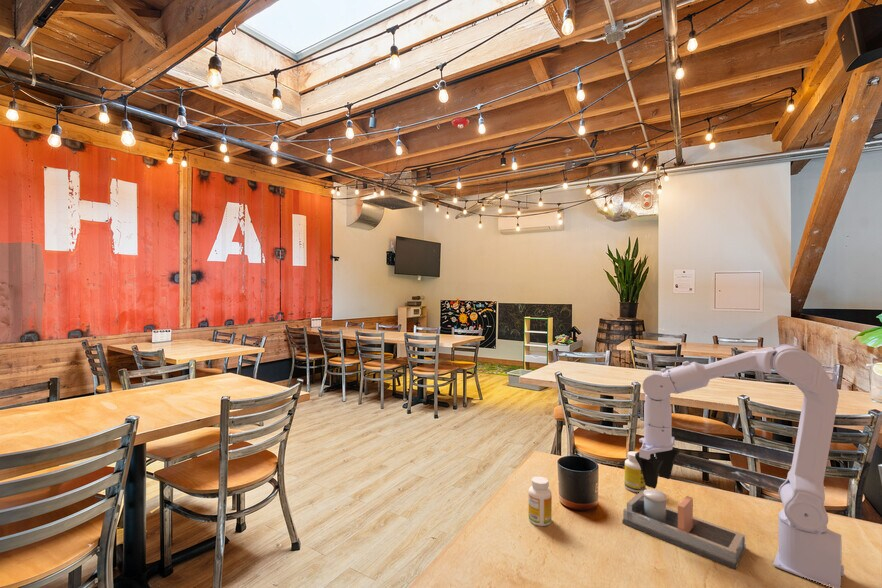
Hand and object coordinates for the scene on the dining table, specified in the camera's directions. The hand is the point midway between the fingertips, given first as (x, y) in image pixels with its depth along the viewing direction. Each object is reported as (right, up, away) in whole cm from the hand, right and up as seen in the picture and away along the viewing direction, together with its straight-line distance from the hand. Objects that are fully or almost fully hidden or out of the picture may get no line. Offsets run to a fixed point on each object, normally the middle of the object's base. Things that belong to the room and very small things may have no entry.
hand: (657, 481), depth 94 cm
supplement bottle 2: (+4, -11, +19) cm, 22 cm away
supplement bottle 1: (-27, -10, +2) cm, 29 cm away
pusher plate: (+4, -9, -4) cm, 11 cm away
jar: (0, -10, 0) cm, 10 cm away
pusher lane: (+3, -10, -4) cm, 11 cm away
